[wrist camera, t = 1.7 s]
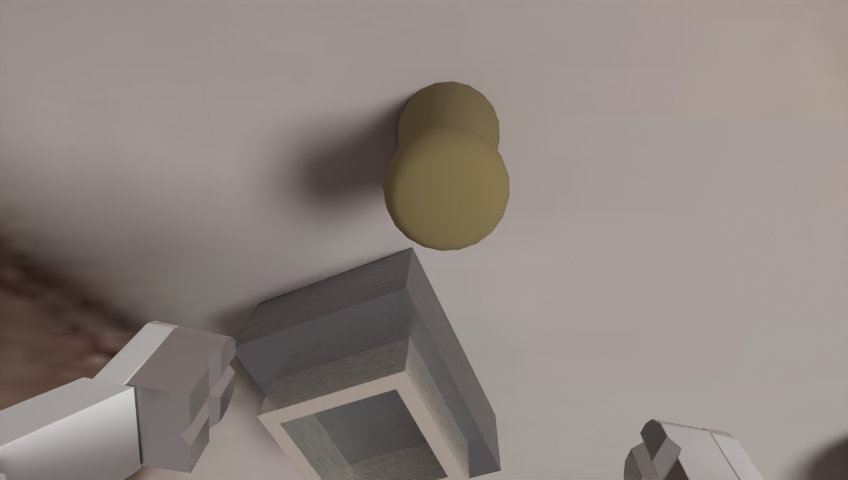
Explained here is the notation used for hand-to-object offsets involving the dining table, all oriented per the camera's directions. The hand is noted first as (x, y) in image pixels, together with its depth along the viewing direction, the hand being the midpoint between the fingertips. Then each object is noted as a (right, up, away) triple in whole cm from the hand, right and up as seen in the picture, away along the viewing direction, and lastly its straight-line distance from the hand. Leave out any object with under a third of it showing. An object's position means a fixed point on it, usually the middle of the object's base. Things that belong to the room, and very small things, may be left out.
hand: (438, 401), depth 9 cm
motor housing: (-3, -6, +27) cm, 27 cm away
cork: (+1, +9, +19) cm, 21 cm away
